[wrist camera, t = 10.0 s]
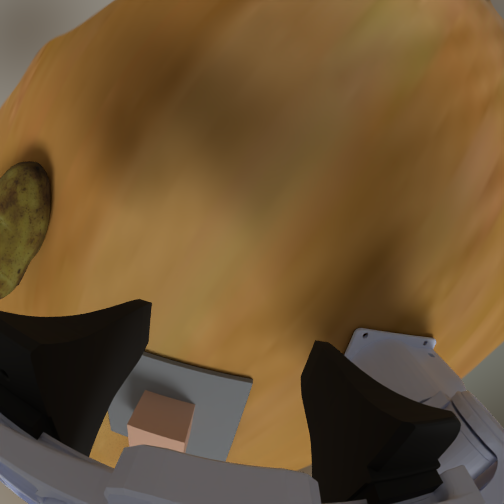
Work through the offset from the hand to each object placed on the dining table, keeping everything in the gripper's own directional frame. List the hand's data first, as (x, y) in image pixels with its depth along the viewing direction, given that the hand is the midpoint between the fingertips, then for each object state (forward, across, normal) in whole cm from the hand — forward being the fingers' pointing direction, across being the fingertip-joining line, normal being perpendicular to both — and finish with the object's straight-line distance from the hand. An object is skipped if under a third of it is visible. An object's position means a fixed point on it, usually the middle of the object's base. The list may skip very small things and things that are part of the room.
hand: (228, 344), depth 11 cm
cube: (+9, +4, +16) cm, 18 cm away
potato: (+10, +21, +1) cm, 23 cm away
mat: (+9, +4, +16) cm, 19 cm away
